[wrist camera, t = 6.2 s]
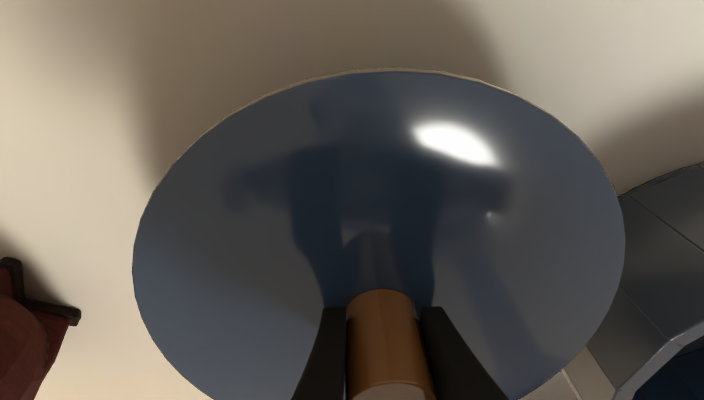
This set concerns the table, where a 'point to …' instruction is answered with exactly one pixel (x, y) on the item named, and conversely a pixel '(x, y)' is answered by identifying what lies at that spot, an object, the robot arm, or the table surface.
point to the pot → (653, 300)
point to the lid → (378, 237)
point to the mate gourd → (27, 335)
